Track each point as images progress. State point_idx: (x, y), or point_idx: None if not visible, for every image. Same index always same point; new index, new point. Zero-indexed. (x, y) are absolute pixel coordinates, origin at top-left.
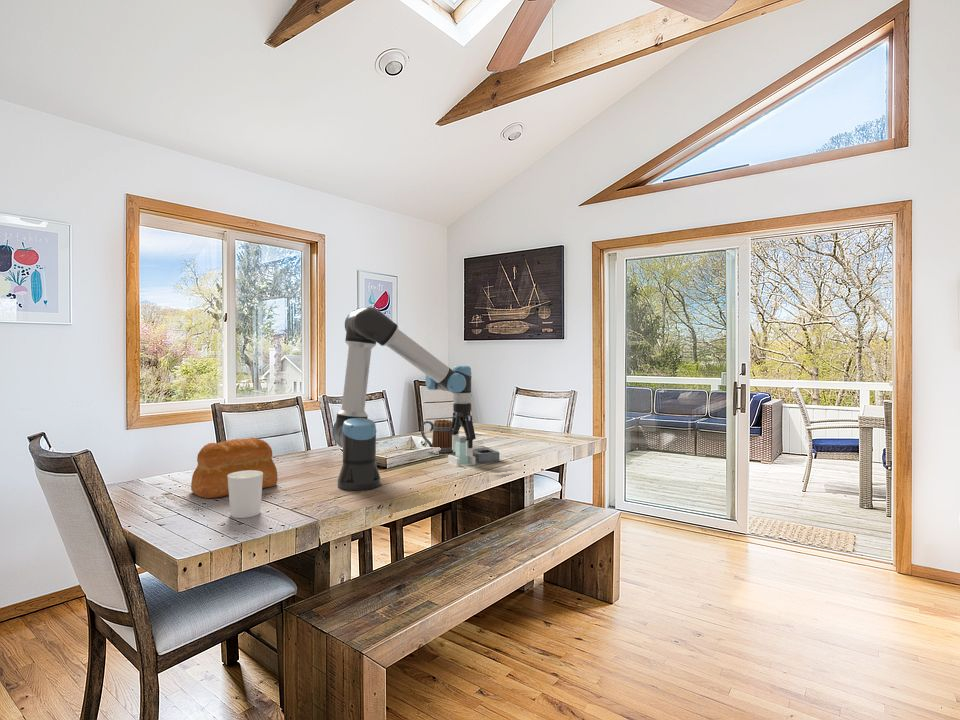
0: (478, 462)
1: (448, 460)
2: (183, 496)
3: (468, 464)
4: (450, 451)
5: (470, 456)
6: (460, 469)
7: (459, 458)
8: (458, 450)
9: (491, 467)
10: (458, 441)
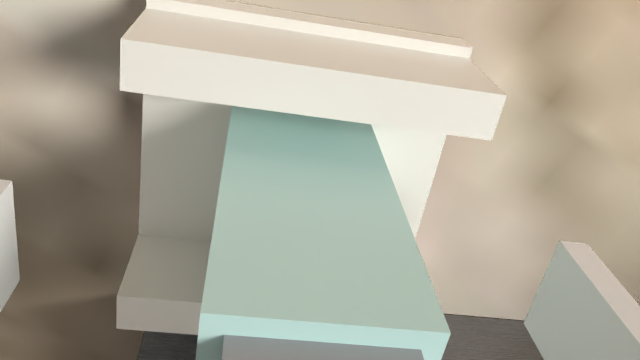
0: None
1: (466, 63)
2: None
3: (170, 196)
4: None
5: (200, 302)
6: (87, 15)
7: (229, 137)
8: (266, 205)
9: (33, 356)
10: (321, 354)
